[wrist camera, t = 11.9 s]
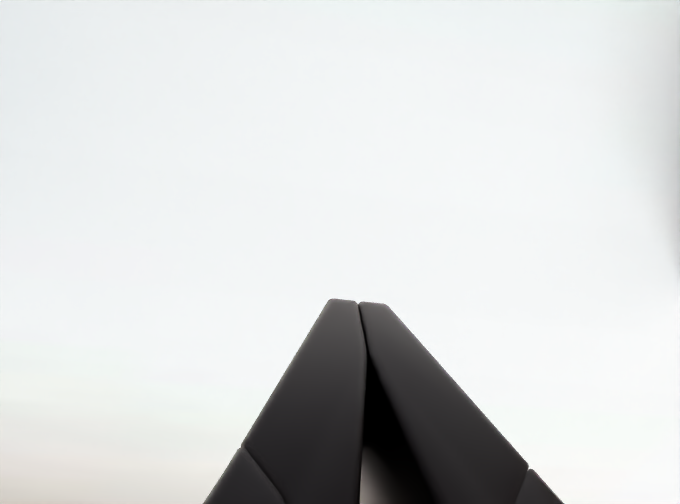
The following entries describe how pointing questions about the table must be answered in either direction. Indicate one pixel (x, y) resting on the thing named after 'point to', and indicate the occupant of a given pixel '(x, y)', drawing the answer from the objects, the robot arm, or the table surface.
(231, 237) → the table surface
